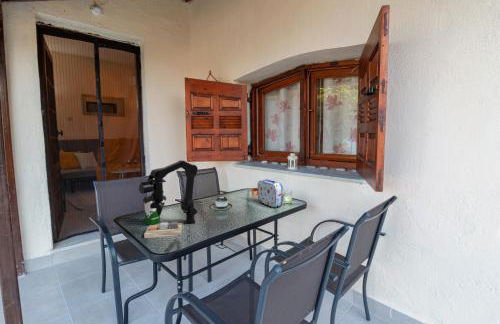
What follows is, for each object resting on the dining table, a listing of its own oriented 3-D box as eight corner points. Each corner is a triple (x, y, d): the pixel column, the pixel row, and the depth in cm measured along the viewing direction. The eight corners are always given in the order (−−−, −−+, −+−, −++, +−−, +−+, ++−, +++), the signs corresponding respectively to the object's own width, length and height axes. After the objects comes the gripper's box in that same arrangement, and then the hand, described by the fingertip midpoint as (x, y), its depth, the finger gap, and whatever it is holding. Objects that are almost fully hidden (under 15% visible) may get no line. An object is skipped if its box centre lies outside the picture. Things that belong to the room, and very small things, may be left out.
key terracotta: (151, 231, 153) (150, 225, 152) (158, 230, 153) (157, 225, 153) (149, 233, 149) (149, 228, 148) (156, 233, 150) (156, 227, 149)
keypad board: (149, 229, 157) (149, 225, 157) (182, 226, 161) (181, 223, 161) (144, 238, 144) (144, 233, 143) (180, 235, 147) (180, 231, 147)
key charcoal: (171, 227, 155) (171, 222, 154) (178, 226, 156) (177, 221, 155) (170, 229, 151) (170, 224, 151) (177, 229, 152) (177, 223, 151)
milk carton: (150, 226, 162) (148, 196, 160) (143, 223, 168) (141, 194, 165) (162, 222, 169) (161, 194, 166) (155, 220, 174) (153, 192, 172)
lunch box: (285, 207, 203) (286, 181, 201) (275, 210, 197) (276, 182, 195) (265, 200, 226) (265, 176, 223) (256, 202, 220) (256, 177, 218)
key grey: (161, 228, 154) (161, 222, 153) (168, 227, 154) (167, 222, 154) (160, 230, 150) (160, 225, 149) (167, 229, 151) (166, 224, 150)
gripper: (147, 187, 157) (148, 211, 159) (139, 194, 139) (141, 221, 140) (165, 186, 159) (167, 210, 161) (160, 193, 141) (162, 220, 142)
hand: (159, 215), depth 151 cm, fingers closed
